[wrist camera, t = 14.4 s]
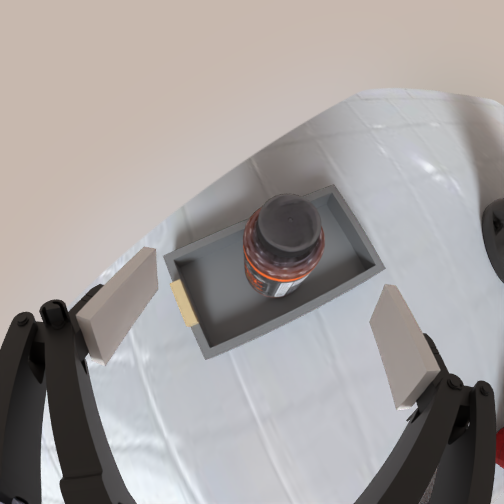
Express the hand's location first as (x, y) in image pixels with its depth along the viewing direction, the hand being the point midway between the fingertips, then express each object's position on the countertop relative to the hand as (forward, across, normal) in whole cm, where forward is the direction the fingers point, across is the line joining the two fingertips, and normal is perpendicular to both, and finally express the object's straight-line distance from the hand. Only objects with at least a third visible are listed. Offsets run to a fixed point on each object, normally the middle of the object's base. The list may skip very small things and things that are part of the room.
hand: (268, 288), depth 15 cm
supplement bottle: (+12, +1, -5) cm, 13 cm away
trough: (+12, +1, -6) cm, 13 cm away
